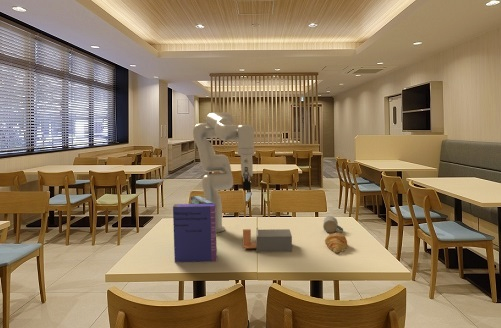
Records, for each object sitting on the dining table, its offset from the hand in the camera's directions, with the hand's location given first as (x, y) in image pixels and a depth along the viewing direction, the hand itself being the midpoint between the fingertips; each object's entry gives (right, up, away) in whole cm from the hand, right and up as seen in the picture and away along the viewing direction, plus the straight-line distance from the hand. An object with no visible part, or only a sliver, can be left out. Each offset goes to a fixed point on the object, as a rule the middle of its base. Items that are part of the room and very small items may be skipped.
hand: (246, 188), depth 171 cm
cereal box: (-22, -30, -13) cm, 39 cm away
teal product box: (-21, -28, +5) cm, 36 cm away
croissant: (+42, -28, +2) cm, 50 cm away
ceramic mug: (+46, -25, +29) cm, 60 cm away
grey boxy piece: (+13, -28, +2) cm, 31 cm away
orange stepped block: (+6, -27, +2) cm, 28 cm away
